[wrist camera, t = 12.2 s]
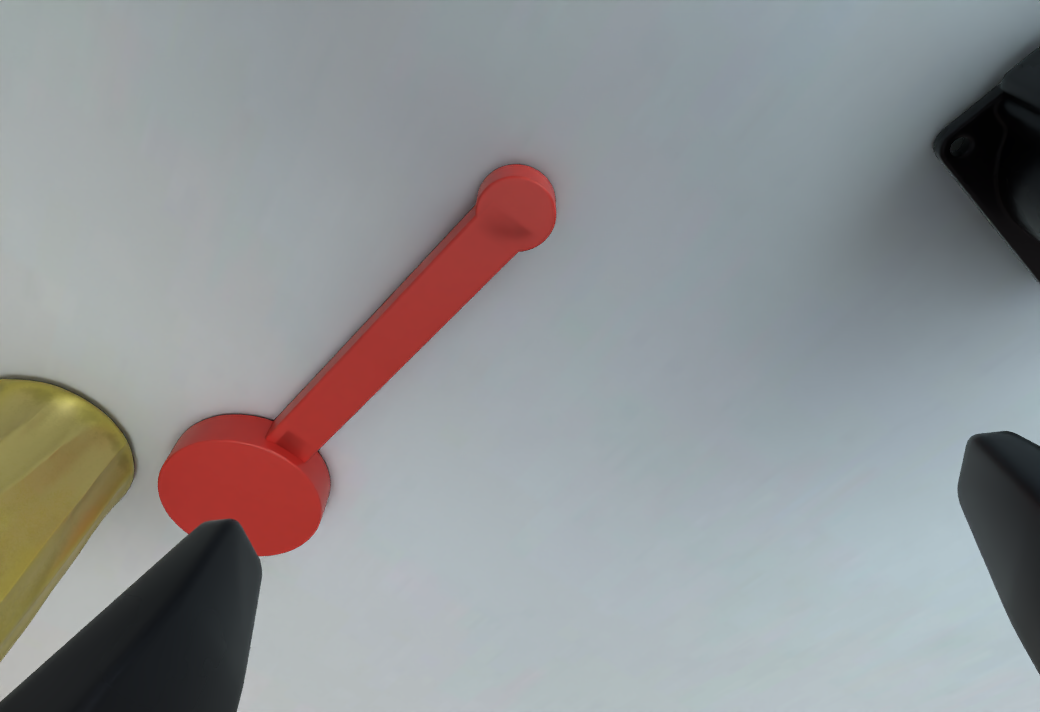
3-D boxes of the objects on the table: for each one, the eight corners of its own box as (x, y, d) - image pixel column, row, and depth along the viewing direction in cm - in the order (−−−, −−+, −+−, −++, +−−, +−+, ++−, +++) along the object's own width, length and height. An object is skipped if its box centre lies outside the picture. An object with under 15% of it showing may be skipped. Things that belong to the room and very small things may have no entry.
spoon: (613, 237, 21) (618, 259, 20) (278, 549, 29) (267, 578, 28) (465, 103, 19) (460, 118, 18) (146, 476, 27) (128, 504, 26)
